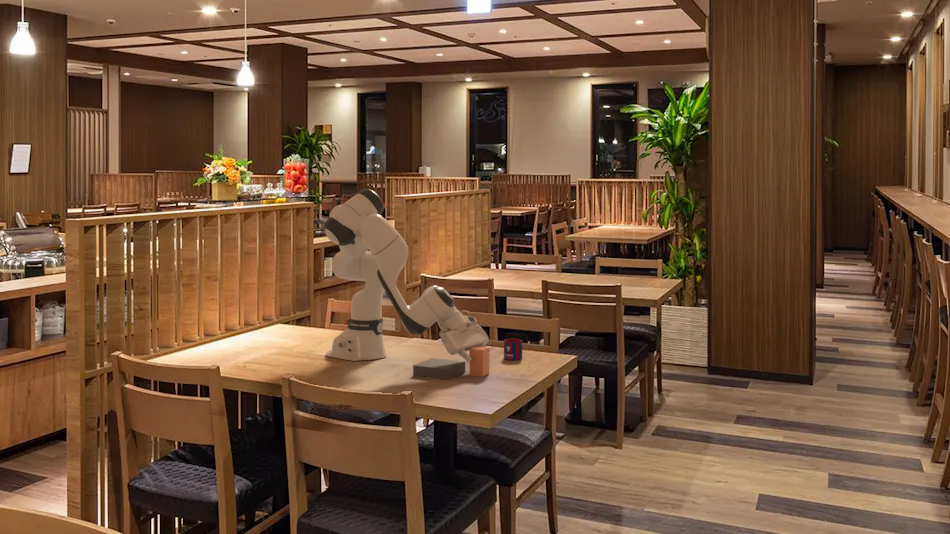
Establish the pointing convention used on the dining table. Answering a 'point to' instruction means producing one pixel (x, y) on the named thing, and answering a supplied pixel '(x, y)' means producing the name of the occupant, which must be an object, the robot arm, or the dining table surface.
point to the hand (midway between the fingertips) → (479, 358)
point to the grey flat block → (439, 368)
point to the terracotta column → (479, 361)
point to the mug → (513, 349)
